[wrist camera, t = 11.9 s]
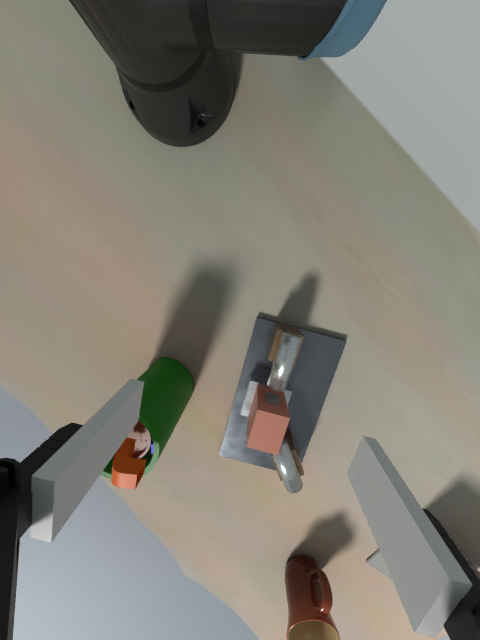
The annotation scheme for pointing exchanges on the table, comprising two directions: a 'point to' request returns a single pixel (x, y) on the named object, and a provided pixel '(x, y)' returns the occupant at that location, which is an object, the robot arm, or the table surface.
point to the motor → (151, 422)
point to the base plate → (282, 384)
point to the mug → (308, 601)
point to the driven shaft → (289, 464)
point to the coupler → (267, 420)
